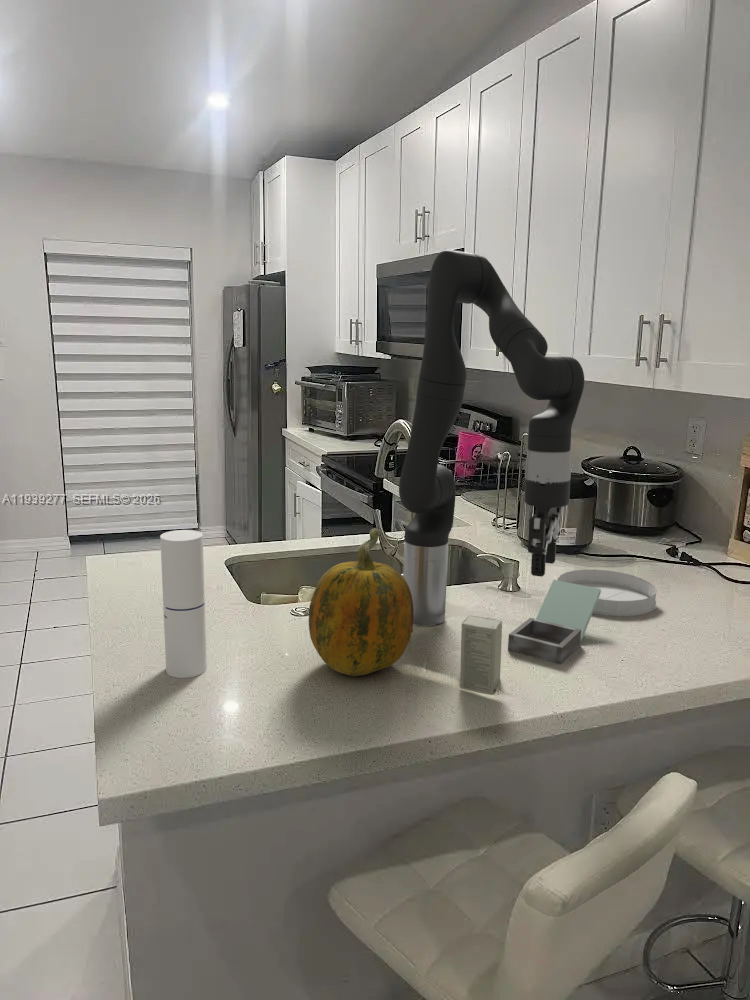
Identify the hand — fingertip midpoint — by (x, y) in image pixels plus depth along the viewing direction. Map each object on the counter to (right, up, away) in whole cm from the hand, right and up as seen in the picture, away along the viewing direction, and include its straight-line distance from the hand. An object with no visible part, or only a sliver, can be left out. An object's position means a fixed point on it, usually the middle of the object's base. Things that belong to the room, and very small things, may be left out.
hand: (543, 569), depth 131 cm
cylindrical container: (-63, -19, +5) cm, 66 cm away
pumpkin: (-32, -19, +7) cm, 38 cm away
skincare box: (-11, -21, +1) cm, 24 cm away
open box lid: (+10, -11, +24) cm, 28 cm away
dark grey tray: (+7, -17, +20) cm, 27 cm away
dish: (+24, -12, +43) cm, 51 cm away
